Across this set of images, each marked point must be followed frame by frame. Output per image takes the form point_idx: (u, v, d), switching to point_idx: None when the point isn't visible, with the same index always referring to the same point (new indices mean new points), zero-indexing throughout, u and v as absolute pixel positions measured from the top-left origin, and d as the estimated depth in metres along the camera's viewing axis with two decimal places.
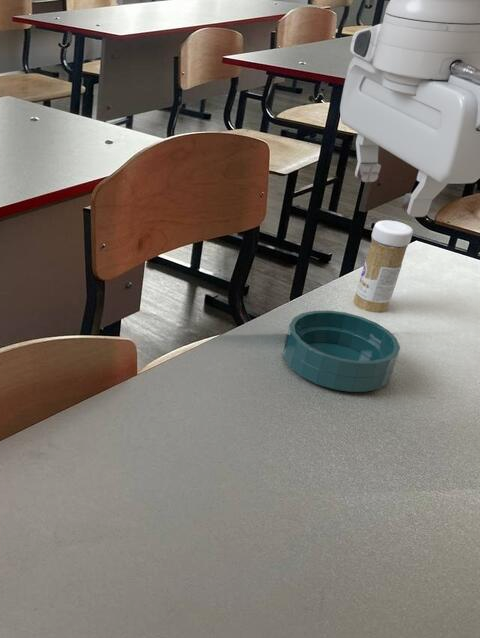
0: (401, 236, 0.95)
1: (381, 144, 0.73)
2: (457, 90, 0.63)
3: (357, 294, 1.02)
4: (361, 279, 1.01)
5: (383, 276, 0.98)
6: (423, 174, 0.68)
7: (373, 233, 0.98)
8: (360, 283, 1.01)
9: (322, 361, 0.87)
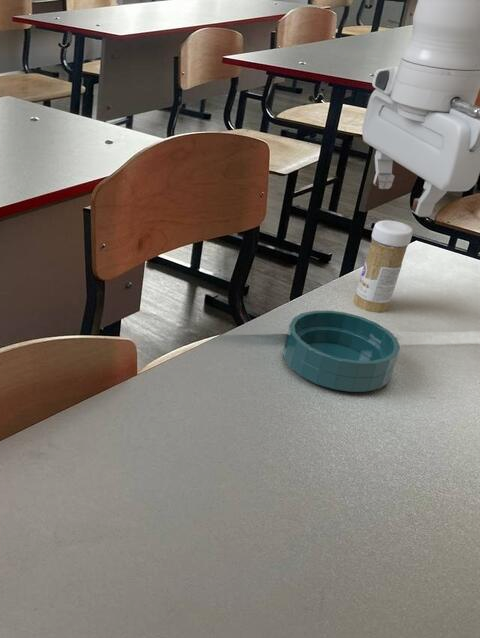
0: (401, 236, 0.95)
1: (395, 159, 0.93)
2: (456, 120, 0.83)
3: (357, 294, 1.02)
4: (361, 279, 1.01)
5: (383, 276, 0.98)
6: (429, 183, 0.88)
7: (373, 233, 0.98)
8: (360, 283, 1.01)
9: (322, 361, 0.87)
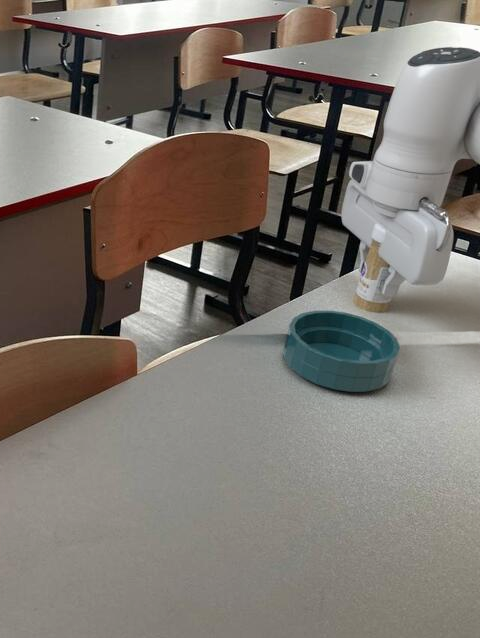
0: None
1: None
2: (424, 221, 0.89)
3: (357, 294, 1.02)
4: (361, 279, 1.01)
5: (383, 276, 0.98)
6: (393, 268, 0.95)
7: (373, 233, 0.98)
8: (360, 283, 1.01)
9: (322, 361, 0.87)
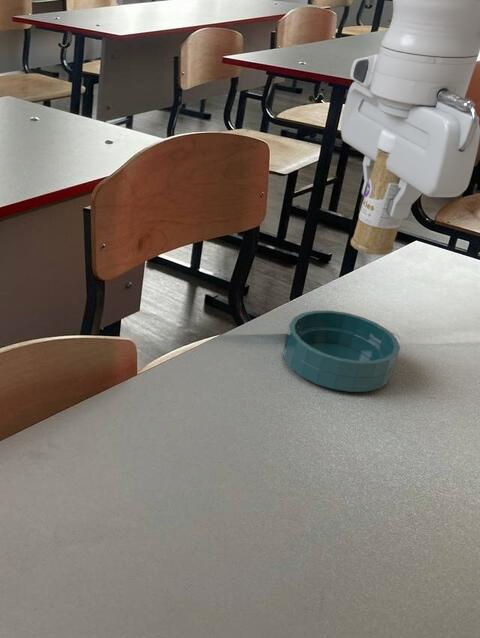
0: None
1: None
2: (443, 116, 0.71)
3: (360, 220, 0.85)
4: (364, 201, 0.84)
5: (391, 194, 0.81)
6: (404, 182, 0.78)
7: (379, 142, 0.81)
8: (363, 206, 0.84)
9: (322, 361, 0.87)
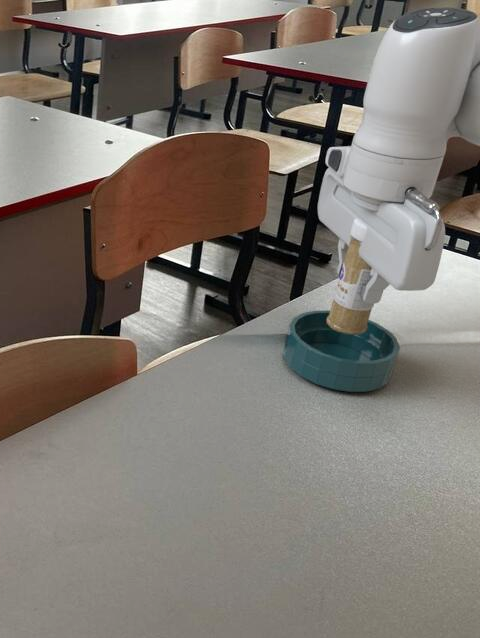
0: None
1: None
2: (410, 215, 0.75)
3: (334, 300, 0.88)
4: (339, 283, 0.87)
5: (364, 279, 0.84)
6: (375, 271, 0.82)
7: (352, 230, 0.84)
8: (338, 288, 0.87)
9: (322, 361, 0.87)
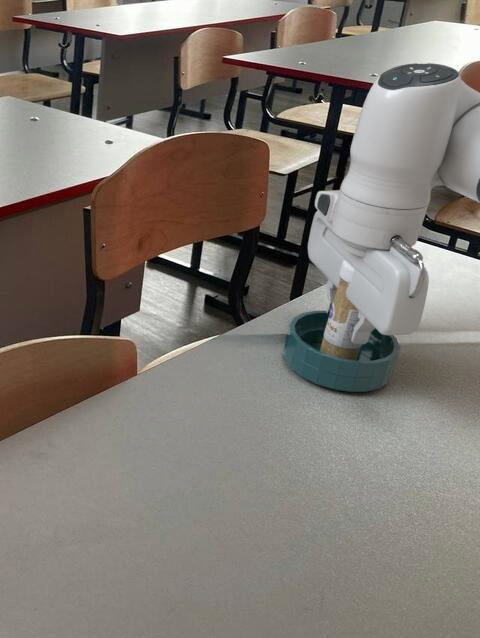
0: None
1: None
2: (395, 264, 0.77)
3: (325, 338, 0.91)
4: (329, 322, 0.90)
5: (353, 319, 0.87)
6: (363, 314, 0.84)
7: (341, 271, 0.86)
8: (328, 326, 0.90)
9: (322, 361, 0.87)
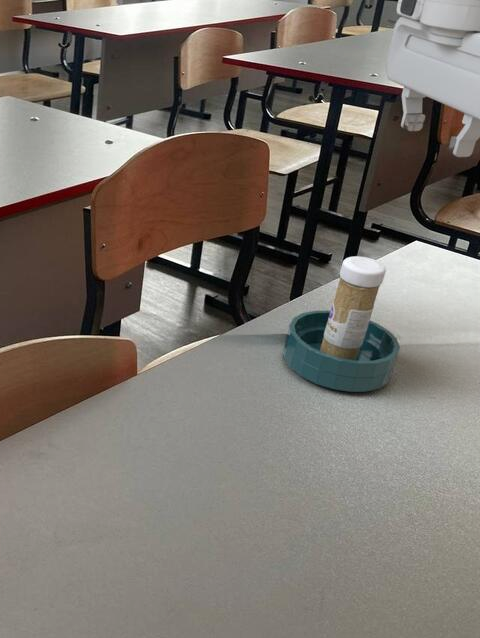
0: (371, 276, 0.84)
1: (427, 94, 0.81)
2: None
3: (325, 338, 0.91)
4: (329, 322, 0.90)
5: (353, 319, 0.87)
6: (469, 117, 0.76)
7: (341, 271, 0.86)
8: (328, 326, 0.90)
9: (322, 361, 0.87)
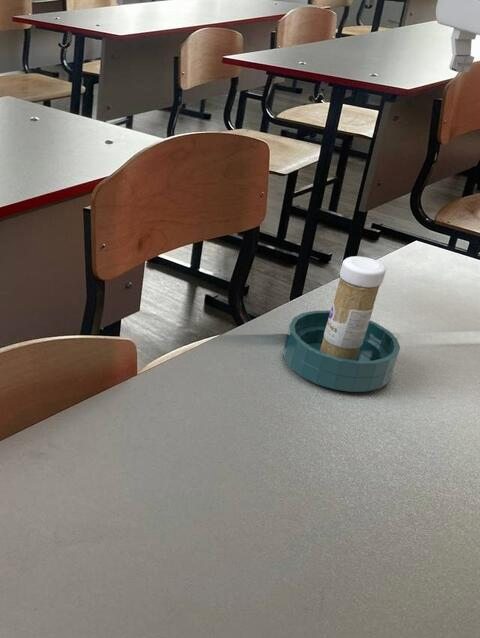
0: (371, 276, 0.84)
1: (479, 32, 0.84)
2: None
3: (325, 338, 0.91)
4: (329, 322, 0.90)
5: (353, 319, 0.87)
6: None
7: (341, 271, 0.86)
8: (328, 326, 0.90)
9: (322, 361, 0.87)
